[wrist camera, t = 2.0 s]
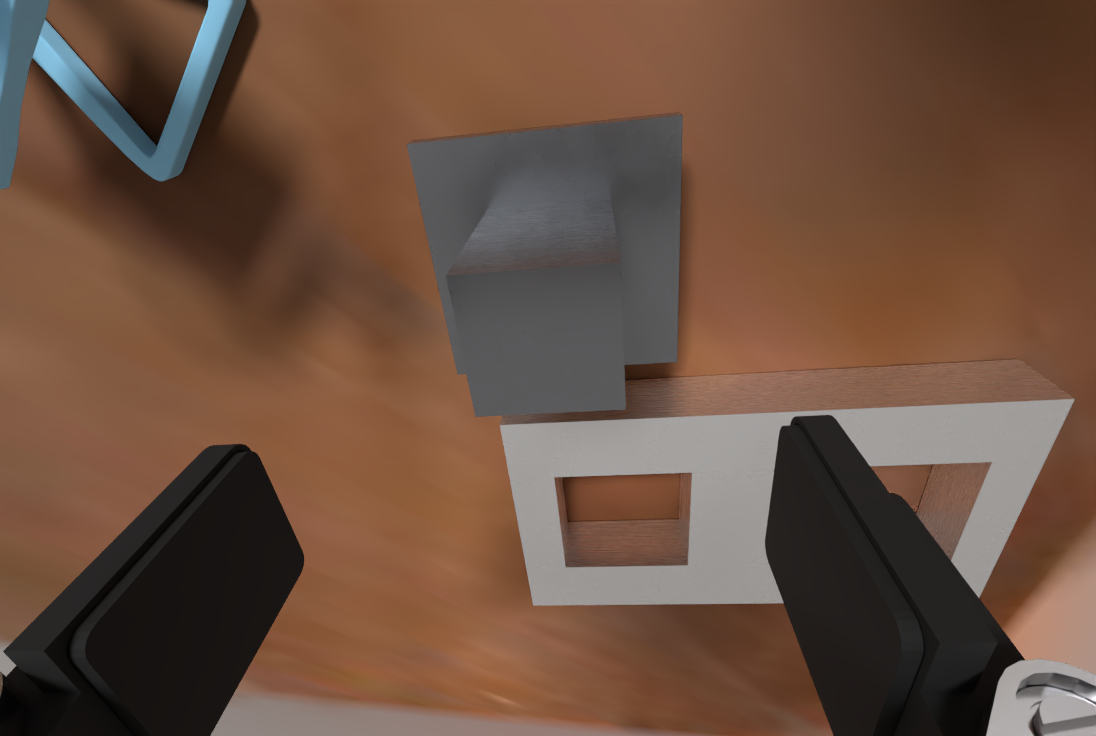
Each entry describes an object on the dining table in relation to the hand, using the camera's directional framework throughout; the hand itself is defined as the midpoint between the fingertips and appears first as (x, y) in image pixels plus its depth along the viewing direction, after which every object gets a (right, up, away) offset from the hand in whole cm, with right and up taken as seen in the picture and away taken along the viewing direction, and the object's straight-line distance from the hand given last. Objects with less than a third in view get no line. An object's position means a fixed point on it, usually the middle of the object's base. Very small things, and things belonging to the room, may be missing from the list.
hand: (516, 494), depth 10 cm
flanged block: (+1, +8, +11) cm, 14 cm away
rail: (+10, -3, +17) cm, 20 cm away
